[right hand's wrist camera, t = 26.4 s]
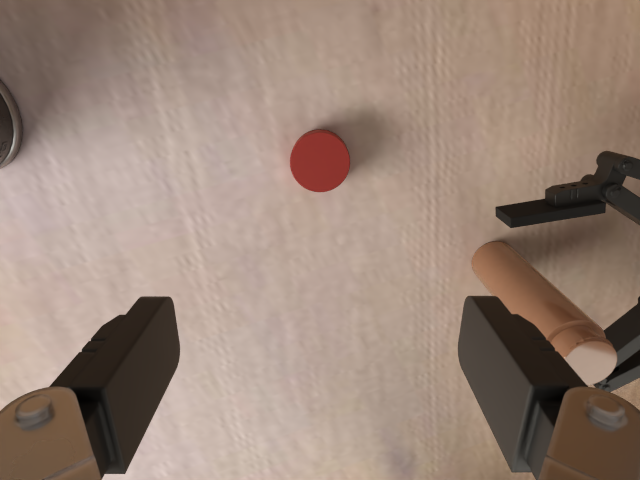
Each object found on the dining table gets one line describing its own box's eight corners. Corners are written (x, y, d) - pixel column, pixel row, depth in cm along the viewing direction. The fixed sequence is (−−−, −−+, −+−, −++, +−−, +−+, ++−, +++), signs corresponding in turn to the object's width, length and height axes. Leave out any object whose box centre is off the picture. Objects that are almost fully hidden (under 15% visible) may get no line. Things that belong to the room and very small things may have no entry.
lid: (279, 152, 35) (277, 156, 34) (326, 117, 34) (326, 119, 33) (314, 197, 37) (313, 203, 35) (359, 164, 36) (361, 169, 34)
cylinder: (523, 261, 39) (636, 364, 25) (488, 288, 40) (578, 401, 26) (498, 232, 38) (601, 323, 24) (462, 260, 39) (542, 363, 25)
